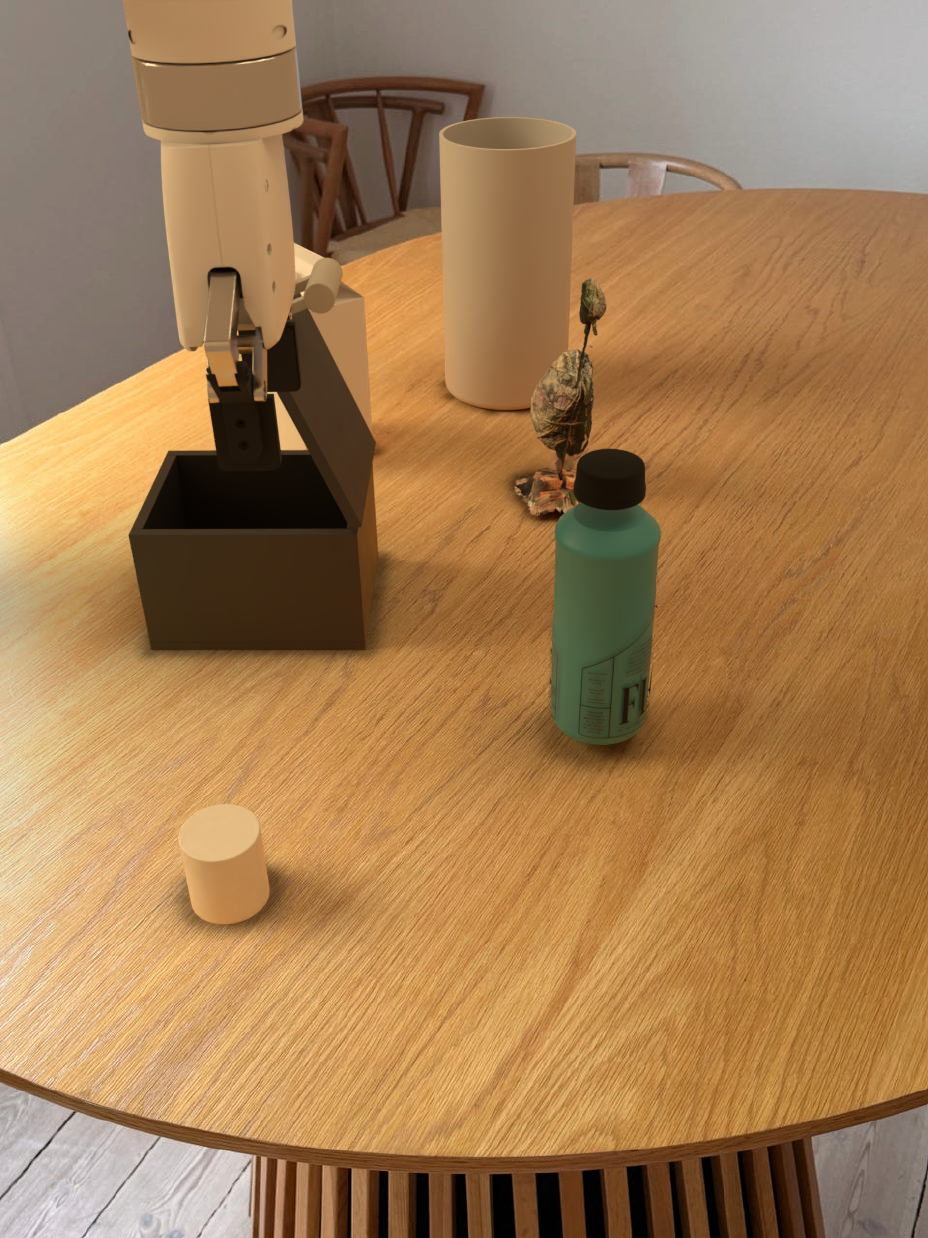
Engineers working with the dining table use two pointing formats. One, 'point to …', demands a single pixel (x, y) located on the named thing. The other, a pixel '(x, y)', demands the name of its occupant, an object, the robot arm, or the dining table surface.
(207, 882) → the cylinder
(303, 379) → the lid
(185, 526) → the dark hinged wooden chest
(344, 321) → the milk carton
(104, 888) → the dining table surface
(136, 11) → the robot arm
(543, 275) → the cylinder vase
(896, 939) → the dining table surface
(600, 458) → the beverage bottle
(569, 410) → the plant with pod
